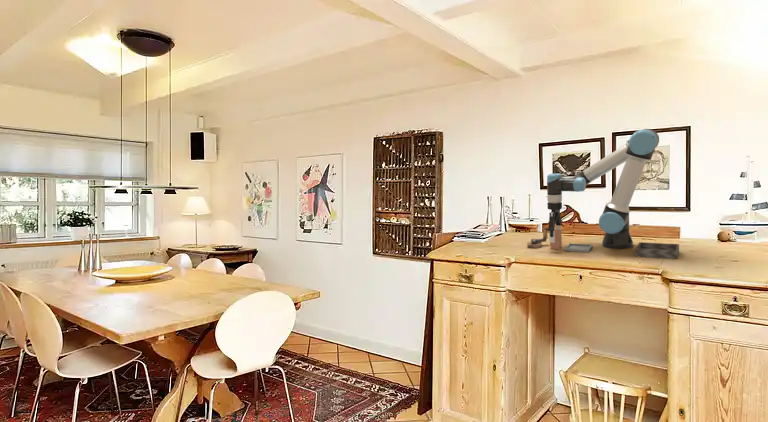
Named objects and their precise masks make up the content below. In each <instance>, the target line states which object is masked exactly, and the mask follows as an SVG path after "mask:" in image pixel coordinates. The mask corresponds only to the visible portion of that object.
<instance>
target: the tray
mask: <svg viewBox="0 0 768 422" xmlns="http://www.w3.org/2000/svg"><path fill="white" fill-rule="evenodd" d="M592 249H593V244H591V243H588V244H587V243H571V242H570V243H568V244H567V246H565V248H564V252H568V253H570V252H572V253H590V251H591V250H592Z"/></svg>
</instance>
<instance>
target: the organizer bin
mask: <svg viewBox="0 0 768 422" xmlns="http://www.w3.org/2000/svg"><path fill="white" fill-rule="evenodd" d="M679 253H680V243H661V242H660V243H659V242H642V241H640V242H638V244H637V246H636V248H635V257H636V256H639V257H640V258H652V259H653V258H655V259H656V258H657V259H671V260H672V259H673V260H678V258H677V257H679ZM639 257H638V258H639Z"/></svg>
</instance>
